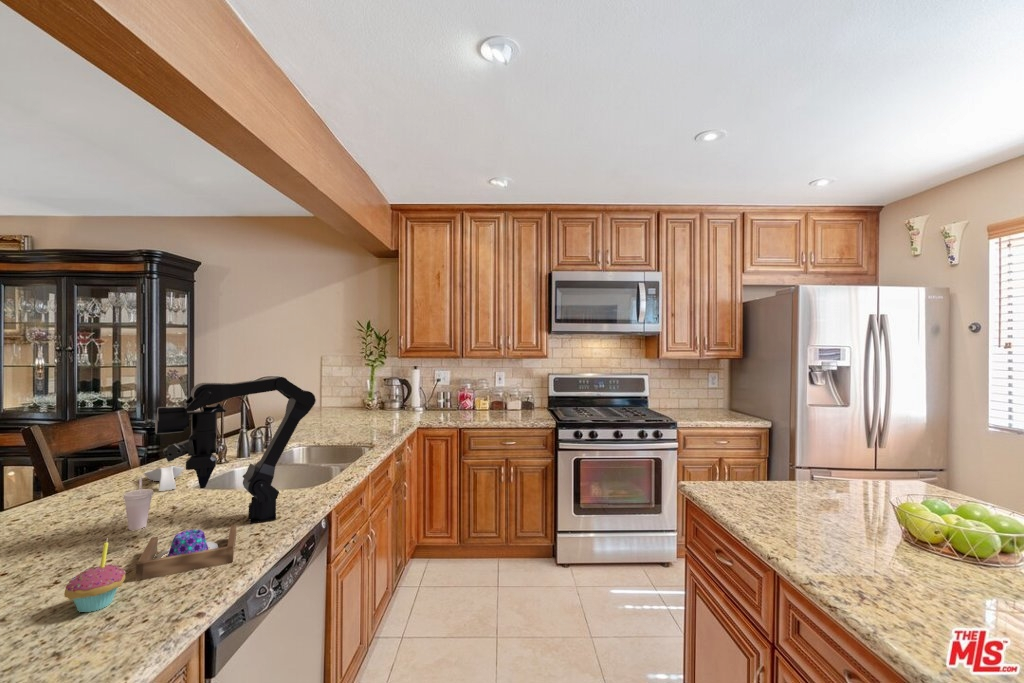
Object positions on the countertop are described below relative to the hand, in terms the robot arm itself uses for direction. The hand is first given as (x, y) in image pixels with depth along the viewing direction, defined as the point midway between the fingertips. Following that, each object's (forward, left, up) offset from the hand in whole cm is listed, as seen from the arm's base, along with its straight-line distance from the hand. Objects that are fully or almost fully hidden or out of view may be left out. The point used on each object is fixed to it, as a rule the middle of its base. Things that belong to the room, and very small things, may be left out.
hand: (202, 487), depth 118 cm
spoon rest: (+16, -58, -12) cm, 62 cm away
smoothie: (+16, -11, -12) cm, 23 cm away
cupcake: (+14, +32, -12) cm, 36 cm away
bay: (+1, +17, -12) cm, 20 cm away
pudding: (+1, +14, -12) cm, 18 cm away
